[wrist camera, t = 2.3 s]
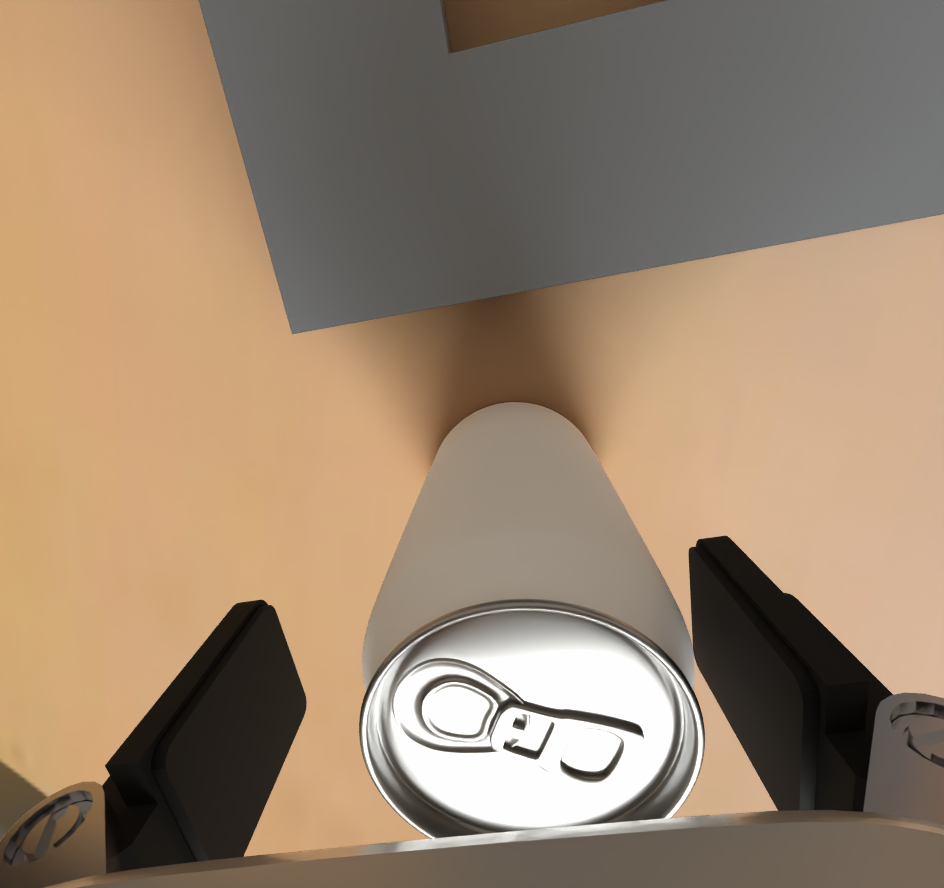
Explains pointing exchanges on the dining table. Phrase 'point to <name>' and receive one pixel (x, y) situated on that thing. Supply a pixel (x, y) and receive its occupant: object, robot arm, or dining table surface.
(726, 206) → the socket block
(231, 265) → the dining table surface
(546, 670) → the can
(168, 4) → the dining table surface
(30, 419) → the dining table surface
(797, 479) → the dining table surface
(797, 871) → the robot arm
